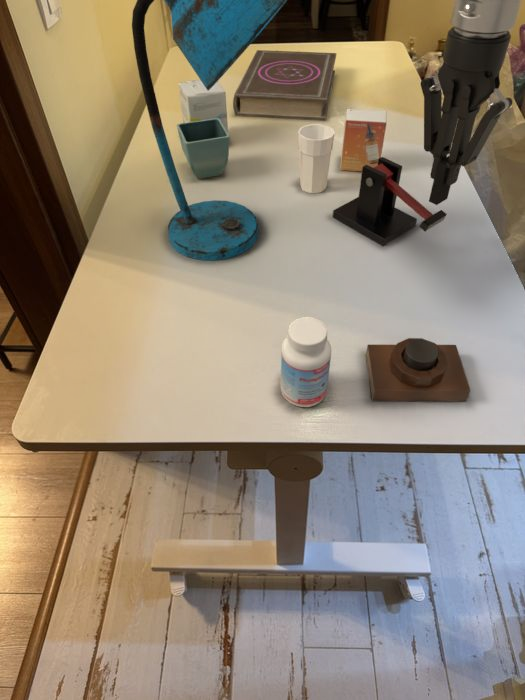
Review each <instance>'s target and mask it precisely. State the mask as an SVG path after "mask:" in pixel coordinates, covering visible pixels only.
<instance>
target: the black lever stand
mask: <svg viewBox="0 0 525 700" xmlns="http://www.w3.org/2000/svg"><path fill="white" fill-rule="evenodd" d="M380 164H383V165H384V166H385V167H387V168H388V169H389V170H390V171H391V172H393V175H392V178H391V179H392V180H393V181H394V182H395V183H397V184H398V185H399V186H400V181H401V175H402V169H403V165H401V164H399V163H397V162H395V161H393V160H390V159H388V158H386V157H384V156H381V158H379V159H378V165H380ZM386 176H387V174H385V173H383V172H381V171H379V170H377V169H375V168H373V167H371V166H368V165H365V166H363V168H362V171H361V176H360V184H359V191H358V196H357V197H356V198H353V199H352V200H350V201H348V202H346V203H344V204H343V205H341V206H338V207H337V208H335V209H333V211H332V218H333V219H335V220H336V221H338V222H340V223H342V224H344V225H345V226H347V227H348V228H351V229H352V230H353V231H356V232H357V233H359V234H360V235H363V236H364V237H366V238H368V239H370V241H371V240H372V241H373V242H375V243H376V244H378V245H380V246H382V247H384V246H385V245H387V244H389V243H390V242H392V241H394V240H395V239H397V238H399V237H400V236H402V235H404V234H405V233H407V232H409V231H410V230H412V229H413V228H415V227H416V226H417V221H418V219H417V218H416V217H414V216H412V215H410V214H409V213H407V212H404V211H403V210H402V209H399V208H397V207H395V206H396V202H397V197H398V196H397V195H395V194H394V193H393V192H392V191H391V190H390V189H388V188H387V187H386V186H385V182H386Z"/></svg>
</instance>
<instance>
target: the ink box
mask: <svg viewBox="0 0 525 700" xmlns="http://www.w3.org/2000/svg"><path fill="white" fill-rule="evenodd" d="M178 89H179V97H180V106H181V116H182V123H187V122H194V121H201V120H208V119H213V118H219V119H220V120H221V122H222V124H223V126H224V127H225V129H226V131H227V132H228V133H229V123H228V112H227V111H228V110H227V98H226V97H227V96H226V95H227V93H226V90H225V89H224V87H223V86H222V85H221V83H220V81H219V80H218V81H217V82H216V83H215V85H214V86H213V87H212V88H211V89H210V90H209V91H208V90H207V89H206V87H205V86H204V84H203V83H202V81H201V80H200V79H195V80H188V81H179V82H178Z"/></svg>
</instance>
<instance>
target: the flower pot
mask: <svg viewBox="0 0 525 700" xmlns="http://www.w3.org/2000/svg"><path fill="white" fill-rule="evenodd" d="M176 128H177V132H178V136H179V140H180V144H181V148H182V151H183V154H184V156H185V158H186V160H187V162H188V166H189V167H190V168H189V169H190V170H191V172H192V173H193V175H194V177H195V178H196V179H198V180H201V179H207V178H212V177H219V176H221V175H222V174H223V172H224V171H225V170H226V167H227V164H228V161H229V153H230V137H231V136H230V133H229V131H228V132H227V131H226V129H225V127H224V126H223V124H222V122H221V120H220V119H219V118H213V119H208V120H201V121H194V122H187V123H183V122H181V123H177V124H176Z"/></svg>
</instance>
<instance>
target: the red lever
mask: <svg viewBox="0 0 525 700" xmlns="http://www.w3.org/2000/svg"><path fill="white" fill-rule="evenodd" d="M374 168H375V169H377V170H379V171H381V172H383V173H385V174H387V176H386V182H385V186H386V187H387V188H388V189H390V190H391V191H392V192H393V193H394V194H395V195H397V197H398V198H399V199H400V200H401V201H402V202H403V203H404V204H406V205H407V206H408V207H409V208H410V209H412V210H413V211H414V212H415V213H416V214H417V215H419V217H421V218H422V219H423V220H422V221H421V222H420V224H419V226H418V227H419V228H420V229H421V230H422V231H423V232H427V231H429V230H430V229H432V228H434V227H435V226H436V225H437V226H438V224H440V223H442V222H443V221H444V220H445V219H446V217H447V215H448V214H447V213H446V212H445V211H444V210H442V209H440V210H438V211H437V212H435V213H432V212H431V211H430V210H429V209H428V208H427V207H425V206H424V205H422V204H421V202H419V200H417V199H415V197H413V196H412V195H411V194H410V193H409V192H407V191H406V190H405V189H404V188H403V187H401V186H400V184H399V185H398V184H397V183H395V182H394V181H393V180H392V179H391V178H392V175H393V172H391V171H390V170H389V169H388V168H387V167H385V166H384V165H383V164H380V165H378V166H376V167H374Z"/></svg>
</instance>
